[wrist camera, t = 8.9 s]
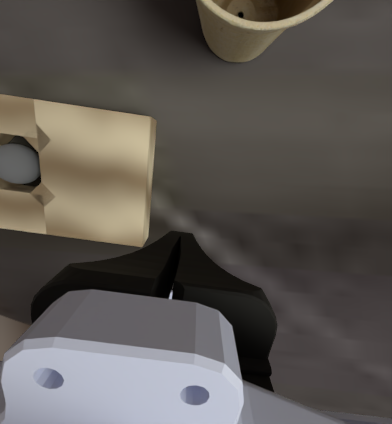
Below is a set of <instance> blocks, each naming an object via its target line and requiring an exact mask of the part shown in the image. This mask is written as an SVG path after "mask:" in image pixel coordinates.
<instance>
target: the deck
mask: <svg viewBox="0 0 392 424" xmlns="http://www.w3.org/2000/svg"><path fill="white" fill-rule="evenodd" d="M156 123H157V121H156V120H155V119H153V118H152V117H149V116H142V115H135V114H129V113H122V112H116V111H109V110H102V109H96V108H89V107H82V106H76V105H69V104H62V103H56V102H49V101H42V100H36V99H29V98H22V97H16V96H9V95H2V94H0V146H1V145H4V144H8V143H9V142H10V141H11V140H12V139H13V137H14V136H15V135H18V136H23V137H24V138H25V139H26V140H27V141H28V142H29V143H30V144H31V145H32V146H33V147H34V148H35V149H36V150H37V152H38V153H39V161H40V171H41V183H40V184H39V185H38V186H37V187H35V186H27V185H23V184H15V183H11V182H8V181H5V180H3V179H2V178H0V228H4V229H11V230H18V231H26V232H33V233H41V234H48V235H56V236H63V237H71V238H78V239H86V240H93V241H101V242H108V243H116V244H123V245H131V246H138V247H143V245H144V243H145V241H146V240H147V238H148V232H149V218H150V205H151V191H152V177H153V164H154V150H155V136H156Z"/></svg>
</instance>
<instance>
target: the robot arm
mask: <svg viewBox="0 0 392 424" xmlns="http://www.w3.org/2000/svg"><path fill="white" fill-rule="evenodd" d="M173 283H174V285H173ZM172 287H173V290H172ZM31 319H32V325H31V326H30V327H29V328H28V329H27V330H26V331H25V332H24V333H23V335H22V336H21V337H20V338H19V339H18V340H17V341H16V342H15V343H14V344H13V345H12V346H11V347H10V348H9V349H8V350H7V351H6V352H5V354H4V358H3V361H0V424H392V418H384V417H375V416H366V415H358V414H349V413H340V412H332V411H323V410H316V409H313V408H311V407H308V406H306V405H304V404H301V403H299V402H296V401H294V400H291V399H289V398H286V397H284V396H281V395H279V394H276V393H274V390H273V387H272V384H271V381H270V377H269V376H271V373H272V371H271V366H270V363H269V360H268V356H269V353H270V350H271V347H272V344H273V341H274V339H275V336H276V331H277V321H276V316H275V314H274V312H273V310H272V307H271V305H270V303H269V301H268V299H267V297H266V295H265V294H264V292H263V290H262V289H261V288H259V287H257V286H254V285H252V284H249V283H247V282H245V281H242V280H240V279H239V278H237V277H235V276H233V275H231V274H230V273H228V272H226V271H225V270H224V269H222V268H221V267H219V266H218V265H217V264H215V263H214V262H213V261H212V260H211V259H210V258H209V257H208V256H207V255H206V254H205V253H204V251H203V250H202V249H201V247H200V246H199V244H198V243H197V241H196V239H195V237H194V235H193V234H192V233H184V232H177V231H170V232H169V233H167V234H166V235H165V236H163V237H162V238H160V239H159V240H157V241H156V242H154V243H152V244H150V245H149V246H147V247H145V248H143V249H140V250H138V251H136V252H133V253H130V254H126V255H123V256H120V257H116V258H111V259H106V260H101V261H94V262H84V263H73V264H69V265H68V266H66V267H65V268H64V269H63V270H62V271H61V272H59V273H58V274H57V275H56V276H55V277H54V278H53V279H51V280H50V281H49V282H48V283H47V284H46V285H45V286H44V287H42V288H41V289H40V290H39V292H38V293H37V294H36V295H35V296H34V299H33V301H32V304H31Z"/></svg>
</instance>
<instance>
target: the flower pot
mask: <svg viewBox="0 0 392 424" xmlns="http://www.w3.org/2000/svg"><path fill="white" fill-rule="evenodd" d="M332 1H333V0H196V3H197V8H198V12H199V16H200V21H201V26H202V31H203V34H204V37H205V40H206V42H207V44H208V46H209V47H210V49H211V50H212V51H213V52H214V53H215V54H216V55H217V56H218V57H220V58H221V59H223V60H225V61H228V62H246V61H250V60H252V59H254V58H255V57H257V56H258V55H260V54H261V53H262V52H263V51H264V50H265V49H266V48H267V47H268V46H269V45H270V44H271V43H272V42H273V41H274V40H275V39H276V38H277V37H278V36H279V35H280V34H281V33H282V32H283V31H284V30H285V29H287V28H290V27H292V26H295V25H298V24H300V23H302V22H304V21H306V20H307V19H309V18H311V17H313V16H314V15H315V14H317V13H318V12H320V11H321V10H322V9H324V8H325V7H326V6H327V5H329V4H330V3H331V2H332ZM240 12H241V13H243V18H239V17H238V13H240Z"/></svg>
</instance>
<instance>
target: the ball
mask: <svg viewBox="0 0 392 424" xmlns="http://www.w3.org/2000/svg"><path fill="white" fill-rule="evenodd" d="M40 175H41V171H40V161H39V155H38V154H37V153H36V152H35V151H33V150H32V149H30V148H29V147H27V146H24V145H21V144H12V143H11V144H4V145H1V146H0V178H2V179H3V180H5V181H8V182H11V183H15V184H26V183H30V182H32V181H34V180H36V179H37V178H38V177H39V176H40Z"/></svg>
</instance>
